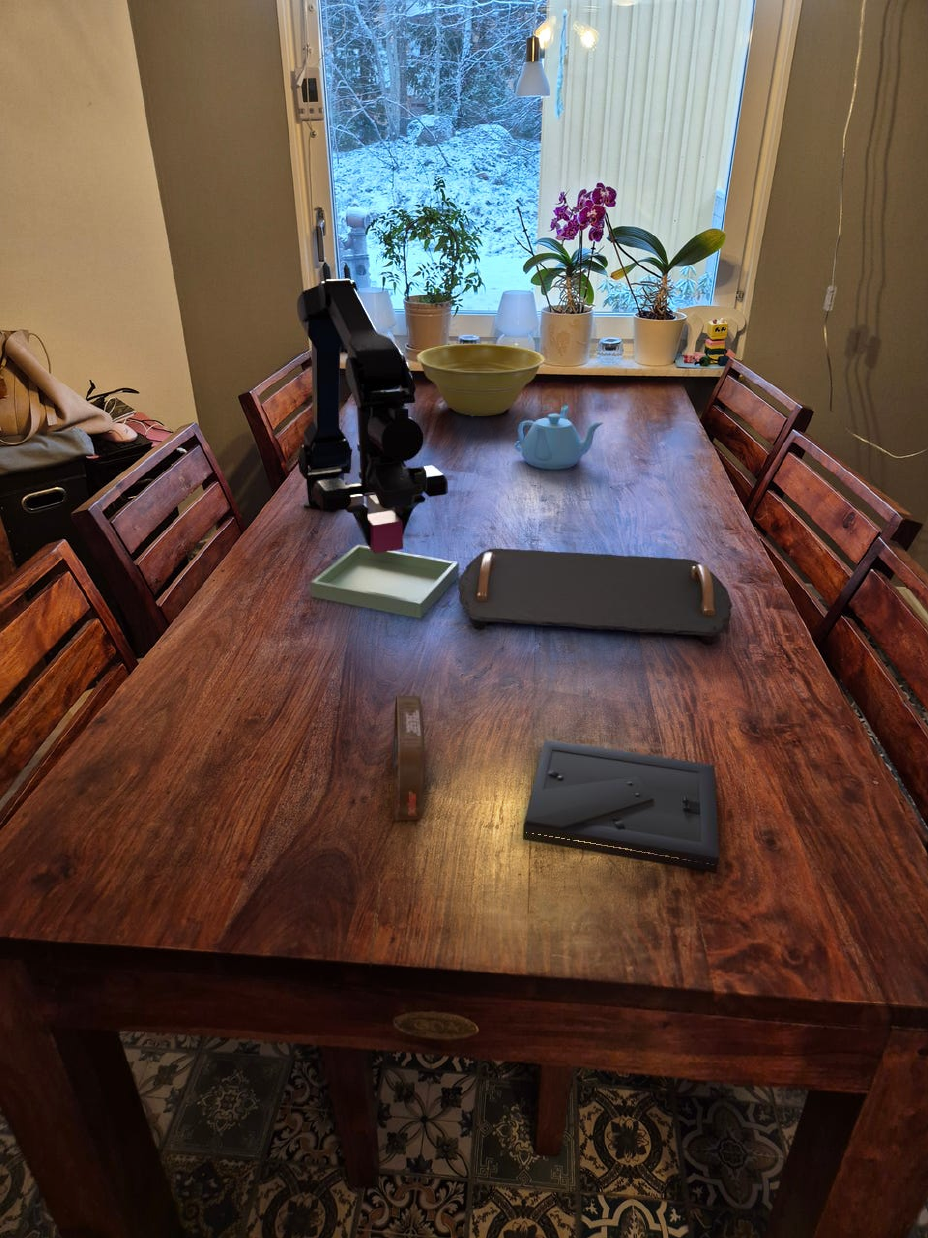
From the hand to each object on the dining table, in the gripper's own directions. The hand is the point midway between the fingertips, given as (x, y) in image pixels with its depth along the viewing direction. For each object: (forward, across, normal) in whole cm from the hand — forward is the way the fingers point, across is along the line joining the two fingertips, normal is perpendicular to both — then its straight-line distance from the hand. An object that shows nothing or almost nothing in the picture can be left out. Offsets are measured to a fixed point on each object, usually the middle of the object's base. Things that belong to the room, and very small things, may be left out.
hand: (383, 542), depth 122 cm
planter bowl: (+7, +55, +84) cm, 101 cm away
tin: (+6, -13, -46) cm, 48 cm away
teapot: (+7, +52, +39) cm, 65 cm away
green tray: (+6, 0, -2) cm, 7 cm away
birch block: (+6, +9, +24) cm, 27 cm away
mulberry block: (+1, 0, 0) cm, 1 cm away
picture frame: (+6, +5, -57) cm, 58 cm away
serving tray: (+7, +25, -19) cm, 32 cm away
